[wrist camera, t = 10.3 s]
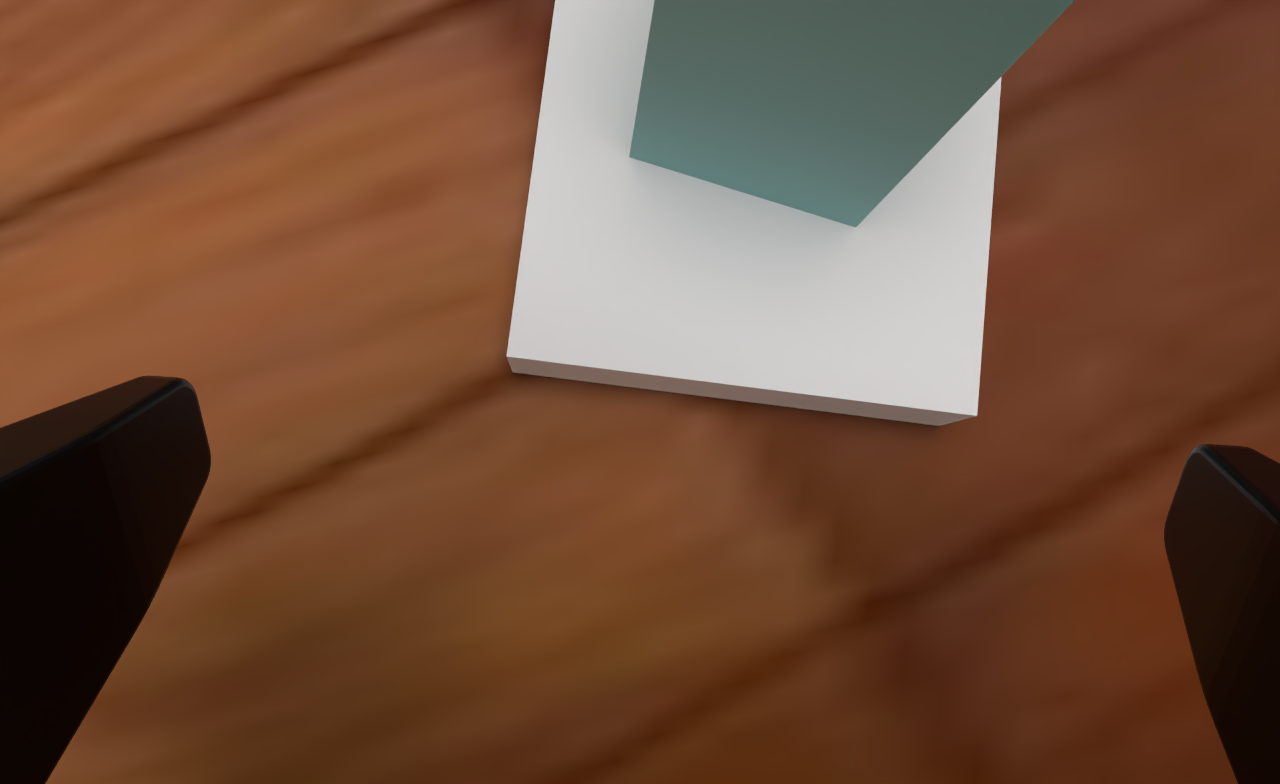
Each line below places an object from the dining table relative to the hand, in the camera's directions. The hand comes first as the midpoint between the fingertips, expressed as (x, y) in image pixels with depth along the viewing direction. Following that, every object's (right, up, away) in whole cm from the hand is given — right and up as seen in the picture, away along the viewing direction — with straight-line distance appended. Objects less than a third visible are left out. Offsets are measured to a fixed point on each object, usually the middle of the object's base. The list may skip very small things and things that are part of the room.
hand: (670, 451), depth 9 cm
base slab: (+2, +6, +13) cm, 14 cm away
